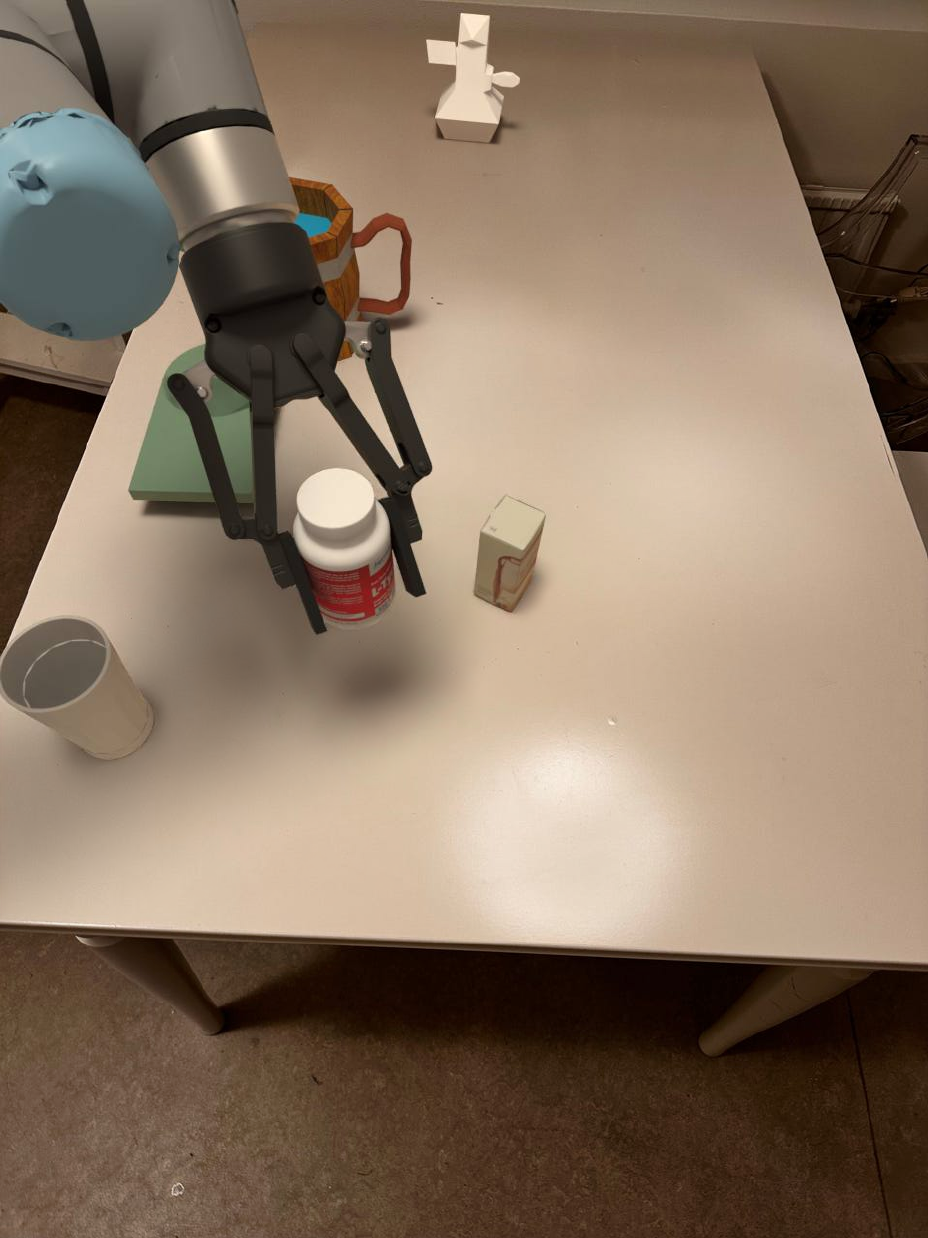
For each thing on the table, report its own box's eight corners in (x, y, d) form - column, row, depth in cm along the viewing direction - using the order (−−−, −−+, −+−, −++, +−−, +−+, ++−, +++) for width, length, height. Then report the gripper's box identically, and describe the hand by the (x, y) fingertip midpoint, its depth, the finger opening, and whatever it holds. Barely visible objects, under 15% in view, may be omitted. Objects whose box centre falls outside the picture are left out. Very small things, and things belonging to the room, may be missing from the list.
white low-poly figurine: (512, 148, 113) (521, 42, 101) (421, 139, 113) (419, 33, 101) (517, 120, 117) (526, 15, 105) (429, 111, 117) (428, 6, 106)
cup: (178, 736, 64) (127, 675, 53) (87, 787, 61) (15, 733, 51) (142, 667, 67) (87, 597, 57) (54, 713, 65) (-19, 648, 54)
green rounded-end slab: (259, 518, 76) (250, 493, 72) (141, 515, 76) (127, 490, 72) (288, 370, 87) (281, 342, 84) (185, 367, 87) (174, 339, 83)
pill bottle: (389, 636, 52) (378, 543, 42) (303, 628, 52) (272, 533, 43) (401, 563, 55) (393, 462, 46) (320, 556, 55) (295, 453, 46)
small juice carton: (512, 614, 71) (522, 553, 62) (472, 594, 72) (476, 531, 63) (536, 575, 73) (549, 511, 65) (497, 556, 74) (504, 491, 66)
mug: (253, 374, 86) (220, 255, 74) (254, 300, 93) (223, 179, 80) (420, 362, 88) (417, 243, 75) (409, 290, 95) (404, 170, 82)
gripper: (382, 220, 48) (479, 555, 55) (78, 294, 44) (225, 648, 50) (411, 181, 41) (518, 569, 48) (53, 263, 37) (228, 679, 43)
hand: (368, 609), depth 49 cm, fingers closed on pill bottle, 6 cm apart
